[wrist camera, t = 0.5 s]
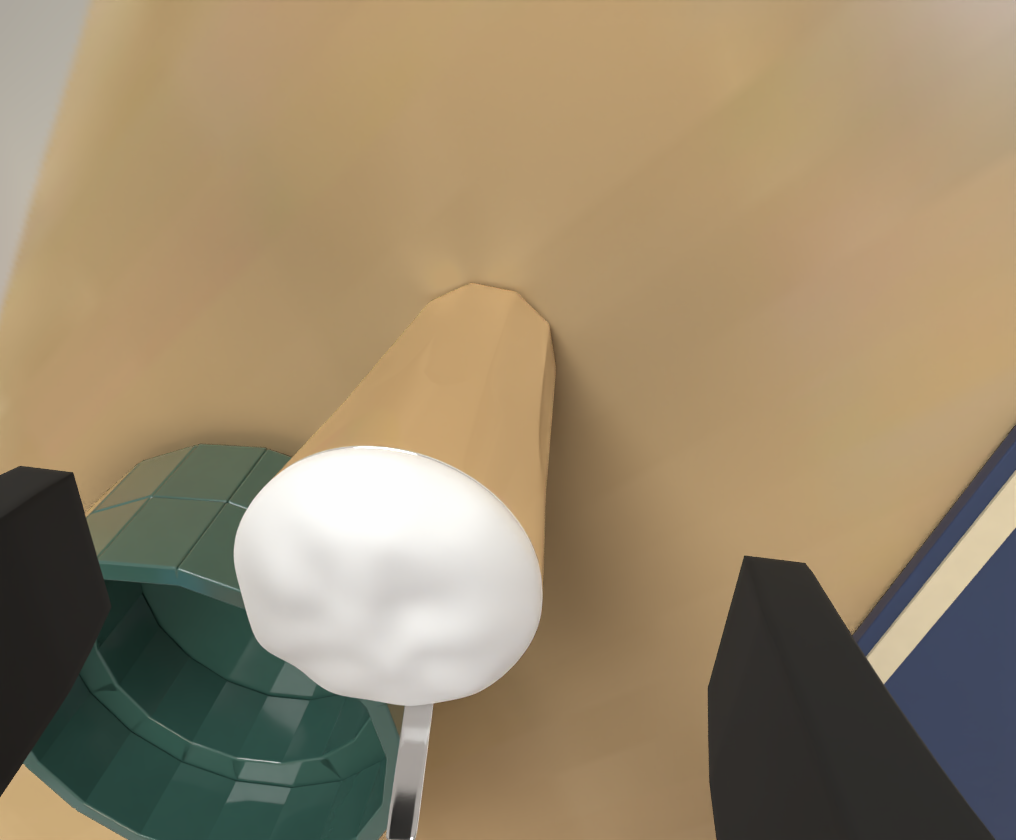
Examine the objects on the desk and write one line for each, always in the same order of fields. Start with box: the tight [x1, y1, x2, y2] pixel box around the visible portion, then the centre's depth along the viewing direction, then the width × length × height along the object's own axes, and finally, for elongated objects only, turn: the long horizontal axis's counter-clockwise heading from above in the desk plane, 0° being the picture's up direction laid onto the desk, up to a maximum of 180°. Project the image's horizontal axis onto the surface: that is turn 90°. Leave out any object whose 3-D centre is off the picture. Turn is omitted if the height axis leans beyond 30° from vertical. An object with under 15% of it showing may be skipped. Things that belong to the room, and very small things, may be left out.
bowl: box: [23, 444, 404, 840], centre depth 22 cm, size 10×10×5 cm
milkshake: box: [234, 283, 556, 840], centre depth 15 cm, size 4×5×10 cm
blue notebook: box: [853, 425, 1016, 840], centre depth 22 cm, size 15×8×1 cm, turn 162°
